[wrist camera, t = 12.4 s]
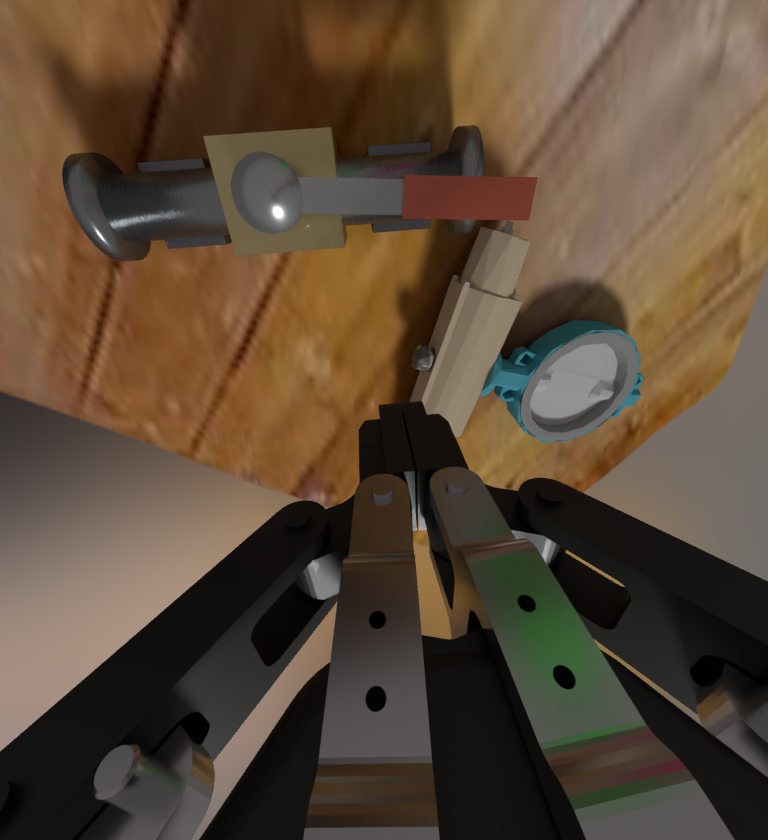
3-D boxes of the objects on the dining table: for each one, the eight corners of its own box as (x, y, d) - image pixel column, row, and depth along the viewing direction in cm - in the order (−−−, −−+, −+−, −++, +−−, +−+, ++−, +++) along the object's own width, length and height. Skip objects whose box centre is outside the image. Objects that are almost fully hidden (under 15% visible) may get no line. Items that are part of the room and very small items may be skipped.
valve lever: (248, 231, 22) (239, 233, 21) (234, 155, 20) (223, 150, 19) (513, 234, 24) (525, 236, 22) (526, 162, 21) (541, 158, 20)
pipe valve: (153, 254, 32) (79, 272, 23) (116, 160, 28) (13, 141, 19) (453, 230, 33) (488, 239, 24) (457, 136, 29) (500, 107, 20)
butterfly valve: (676, 283, 40) (447, 203, 31) (737, 298, 34) (478, 207, 25) (557, 458, 53) (374, 437, 44) (586, 489, 48) (384, 473, 39)
